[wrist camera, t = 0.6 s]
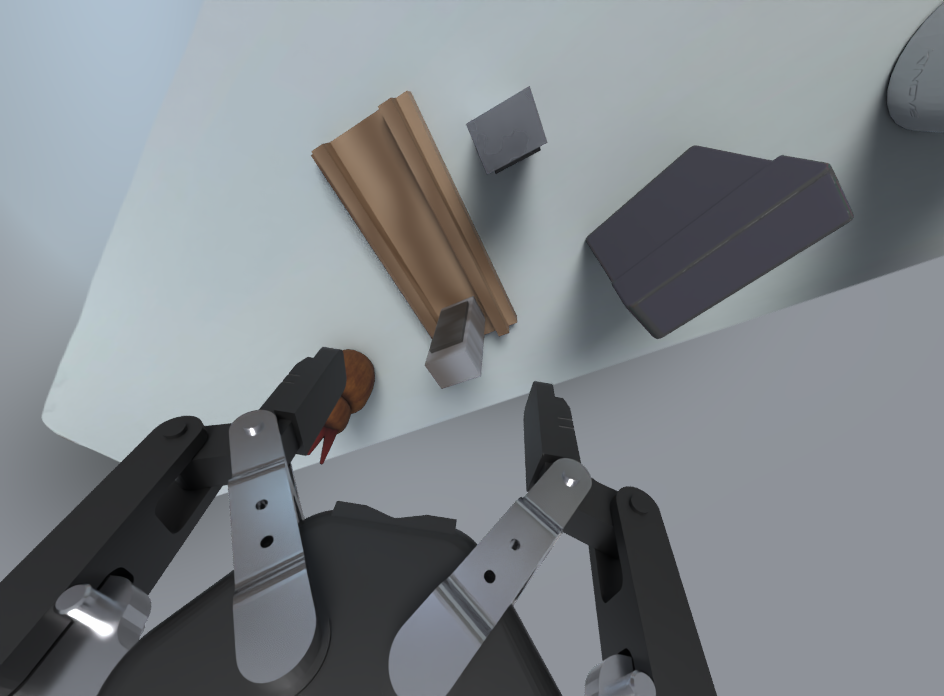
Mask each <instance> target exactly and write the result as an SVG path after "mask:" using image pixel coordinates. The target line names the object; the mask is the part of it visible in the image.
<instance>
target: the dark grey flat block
mask: <svg viewBox="0 0 944 696" xmlns="http://www.w3.org/2000/svg"><path fill="white" fill-rule="evenodd" d="M853 216H854V215H853V212H852V210H851V208H850V206H849V203H848V201H847V199H846V197H845V195H844V192H843V190H842V188H841V186H840V184H839V181H838V179H837V177H836V175H835V173H834V171H833V169H832V167H831V165H830V164H828V163H824V162H818V161H813V160H807V159H801V158H795V157H790V156H784V155H781V156H779V157H777V158H776V159H775V160H773V161H772V160H766V159H761V158H756V157H751V156H746V155H741V154H736V153H731V152H726V151H721V150H716V149H711V148H706V147H701V146H692V147H690V148H689V149H688V150H687V151H686V152H684V153H683V154H682V155H681V156H680V157H679V158H677V159H676V160H675V161H674V162H673V163H672V164H671V165H669V166H668V167H667V168H666V169H665V170H664V171H662V172H661V173H660V174H659V175H658V176H657V177H656V178H654V179H653V180H652V181H651V182H650V183H649V184H647V185H646V186H645V187H644V188H643V189H642V190H641V191H639V192H638V193H637V194H636V195H635V196H634V197H632V198H631V199H630V200H629V201H628V202H627V203H626V204H624V205H623V206H622V207H621V208H620V209H619V210H617V211H616V212H615V213H614V214H613V215H612V216H611V217H609V218H608V219H607V220H606V221H605V222H604V223H602V224H601V225H600V226H599V227H598V228H597V229H596V230H594V231H593V232H592V233H591V234H590V235H589V236H588V237H587V238H586V242H587V244H588V245H589V247H590V248H591V250H592V252H593V253H594V255H595V256H596V258H597V260H598V261H599V263H600V264H601V266H602V267H603V269H604V271H605V272H606V274H607V275H608V277H609V279H610V280H611V282H612V286H613V287H614V289H615V291H616V292H617V294H618V295H619V297H620V299H621V300H622V302H623V304H624V305H625V307H626V308H627V309H628V310H629V311H630V312H631V313H632V314H633V316H634V317H635V318H636V319H637V320H638V321H639V322H640V323H641V324H642V325H643V326H644V327H645V329H646V330H647V331H648V332H649V333H650V334H651V335H652V336H653V337H654V338H656V339H659V338H662V337H664V336H666V335H667V334H669V333H671V332H672V331H674V330H676V329H677V328H679V327H680V326H682V325H684V324H685V323H687V322H688V321H690V320H692V319H693V318H695V317H697V316H698V315H700V314H701V313H703V312H705V311H706V310H708V309H710V308H711V307H713V306H714V305H716V304H718V303H719V302H721V301H722V300H724V299H726V298H727V297H729V296H731V295H732V294H734V293H735V292H737V291H739V290H740V289H742V288H743V287H745V286H747V285H748V284H750V283H752V282H753V281H755V280H756V279H758V278H760V277H761V276H763V275H765V274H766V273H768V272H769V271H771V270H773V269H774V268H776V267H777V266H779V265H781V264H782V263H784V262H786V261H787V260H789V259H790V258H792V257H794V256H795V255H797V254H798V253H800V252H802V251H803V250H805V249H807V248H808V247H810V246H811V245H813V244H815V243H816V242H818V241H820V240H821V239H823V238H824V237H826V236H828V235H829V234H831V233H832V232H834V231H836V230H837V229H839V228H840V227H842V226H844V225H845V224H847V223H848V222H850V221H851V220H852V218H853Z"/></svg>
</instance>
